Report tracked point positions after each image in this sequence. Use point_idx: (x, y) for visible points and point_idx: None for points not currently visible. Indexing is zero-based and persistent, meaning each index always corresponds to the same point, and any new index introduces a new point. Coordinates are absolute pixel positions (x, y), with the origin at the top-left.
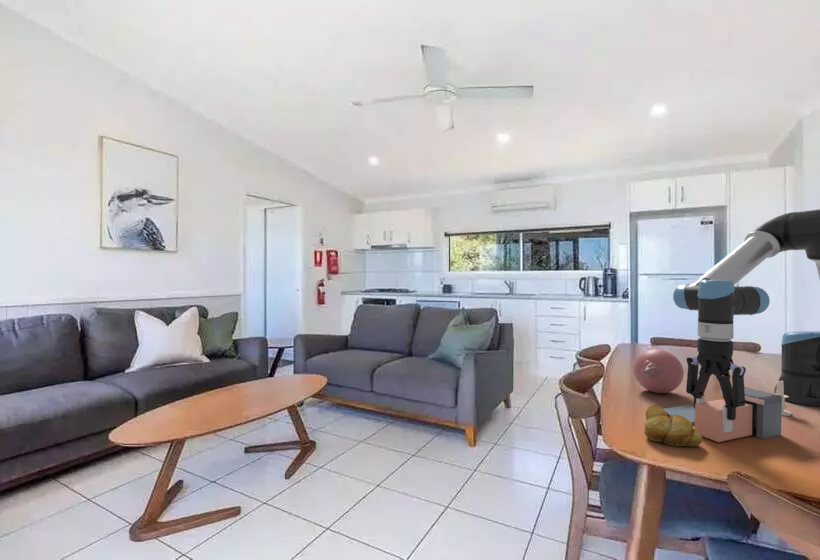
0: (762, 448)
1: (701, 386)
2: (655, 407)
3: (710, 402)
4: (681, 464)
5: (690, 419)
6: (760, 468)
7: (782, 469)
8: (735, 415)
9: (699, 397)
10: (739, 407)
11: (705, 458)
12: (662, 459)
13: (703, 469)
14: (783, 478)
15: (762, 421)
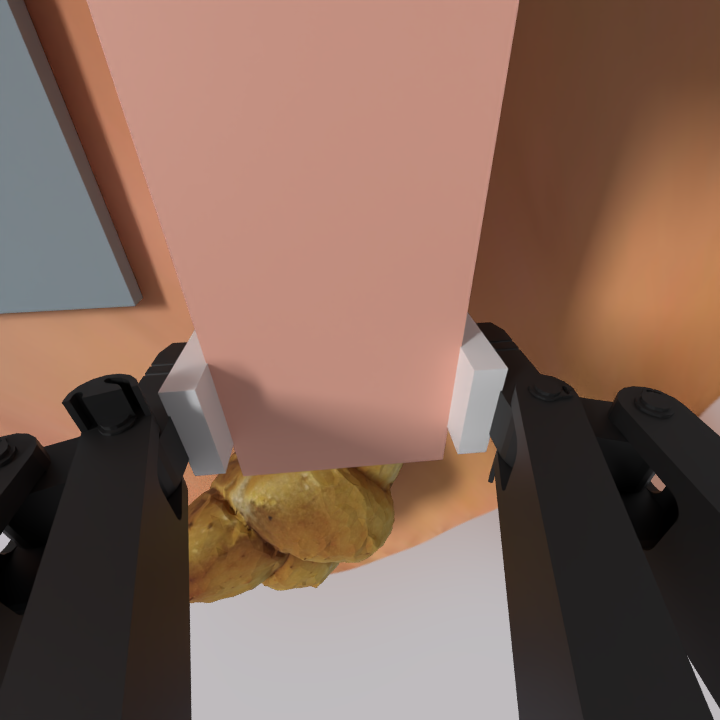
0: (545, 144)
1: (181, 625)
2: (210, 596)
3: (235, 339)
4: (443, 526)
5: (23, 150)
6: (595, 378)
7: (658, 315)
8: (513, 345)
9: (181, 450)
10: (489, 168)
11: (454, 460)
12: (402, 541)
13: (489, 505)
14: (665, 378)
15: None
